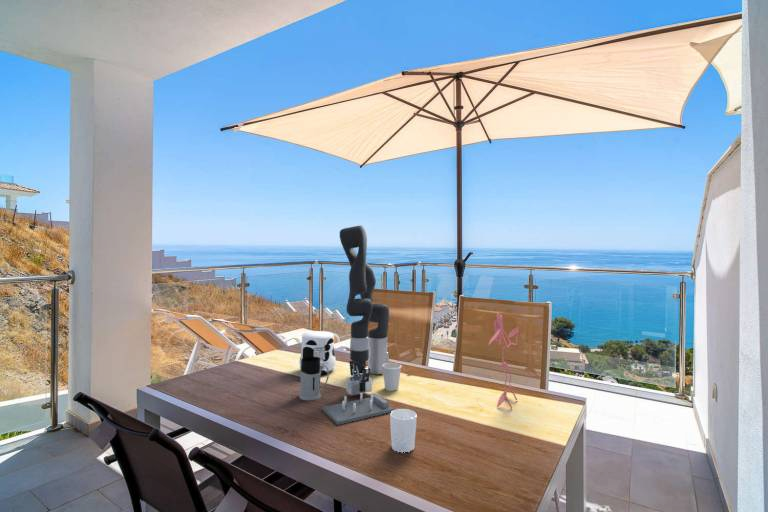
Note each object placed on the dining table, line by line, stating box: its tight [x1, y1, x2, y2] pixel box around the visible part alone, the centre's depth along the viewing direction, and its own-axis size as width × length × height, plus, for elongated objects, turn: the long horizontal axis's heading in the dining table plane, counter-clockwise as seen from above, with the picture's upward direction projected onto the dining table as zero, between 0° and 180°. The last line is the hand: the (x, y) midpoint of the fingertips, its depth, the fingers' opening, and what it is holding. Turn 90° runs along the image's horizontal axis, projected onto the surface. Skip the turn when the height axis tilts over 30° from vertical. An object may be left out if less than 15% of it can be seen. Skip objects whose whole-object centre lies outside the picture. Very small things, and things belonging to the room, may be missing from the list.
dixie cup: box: [382, 362, 403, 392], centre depth 163 cm, size 8×8×10 cm
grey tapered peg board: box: [321, 392, 395, 426], centre depth 140 cm, size 22×14×5 cm, turn 120°
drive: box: [345, 375, 373, 396], centre depth 155 cm, size 9×5×6 cm, turn 119°
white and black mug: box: [298, 357, 330, 401], centre depth 152 cm, size 9×14×15 cm, turn 55°
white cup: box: [389, 408, 417, 454], centre depth 114 cm, size 8×8×10 cm
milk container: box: [299, 330, 337, 375], centre depth 186 cm, size 17×17×18 cm
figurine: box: [488, 312, 520, 409], centre depth 151 cm, size 15×26×35 cm, turn 149°
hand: (359, 389), depth 155 cm, fingers closed on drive, 5 cm apart
